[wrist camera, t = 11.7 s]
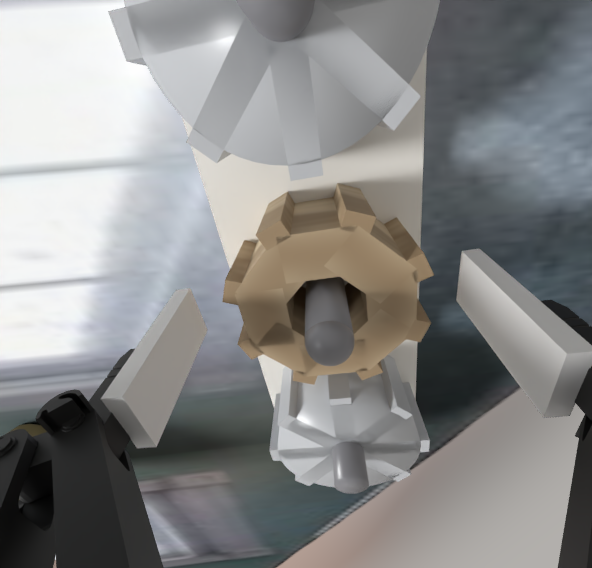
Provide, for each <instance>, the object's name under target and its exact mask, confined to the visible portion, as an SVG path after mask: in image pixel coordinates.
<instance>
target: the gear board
mask: <svg viewBox="0 0 592 568" xmlns="http://www.w3.org/2000/svg"><path fill="white" fill-rule="evenodd" d="M124 3H125V7H124V8H120V9H116V10H112V11H108V12H109V15H110V17H111V20H112V23H113V26H114V28H115V31H116V34H117V36H118V39H119V42H120V45H121V47H122V50H123V53H124V55H125V58H126V61H128V62H132V63H137V64H141V65H146V66H147V67H148V69H149V71H150V73H151V75H152V77H153V79H154V80H155V82H156V83H157V85H158V86H159V88H160V89H161V91H162V93H163V94H164V96H165V97H166V98H167V100H168V101H169V102H170V103H171V105H172V106H173V107H174V108H175V110H176V111H177V112H178V113H179V115H180V116H181V117H182V119H183V122H184V125H185V128H186V132H187V135H188V139H187V141H186V142H187V143H188V144H190V145H191V147H192V151H193V154H194V157H195V160H196V163H197V166H198V169H199V173H200V176H201V179H202V182H203V185H204V188H205V192H206V195H207V198H208V201H209V204H210V207H211V210H212V214H213V217H214V220H215V223H216V226H217V229H218V233H219V236H220V239H221V242H222V245H223V248H224V251H225V255H226V258H227V261H228V264H229V267H230V269H231V267H232V265H233V263H234V261H235V259H236V256H237V254H238V252H239V250H240V248H241V246H242V244H243V242H244V240H245V241H250V242H254V243H257V242H258V241H259V239H258V238H257V237H256V233H257V231H258V228H259V226H260V223H261V221H262V218H263V216H264V213H265V211H266V209H267V206H268V204H269V203H270V202H272V201H273V200H275V199H277V198H278V197H280V196H281V195H283V194H284V193H286V192H287V191H288V193H289V195H290V196H291V198H292V199H293V201H294V202H295V203H299V202H306V201H312V200H318V199H324V198H330V197H333V196H334V193H335V189H336V186H337V183H339V184H343V185H347V186H351V187H355V188H360V190H361V191H362V193H363V195H364V196H365V198H366V200H367V202H368V203H369V205H370V207H371V208H372V210H373V212H374V214H375V215H376V218H377V219H378V220H379V221H381V222H382V223H383V224H385V223H387V222H389V221H391V220H393V219H394V218H396V217H397V218H398V220H399V221H400V222H401V224H402V225H403V226H404V228H405V229H406V230H407V231H408V233H409V234H410V235H411V237H412V238H413V239H414V241H415V242H416V243H417V245H418V246H419V247H420V246H421V215H422V184H423V153H424V122H425V91H426V60H427V45H428V43H429V41H430V37H431V34H432V31H433V27H434V24H435V21H436V17H437V14H438V9H439V3H440V0H124ZM347 283H348V282H347V281H346V280H344V279H342V278H341V277H333V278H326V279H318V280H310V281H305V282H304V283H303V285H302V286H303V287H304V288H306V300H305V347H306V350H307V352H308V354H309V356H310V357H311V358H312V359H313V360H314V361H315V362H317V363H319V364H321V365H324V366H336V365H339V364H341V363H343V362H345V361H346V360H347V359H348V358H349V357H350V355H351V353H352V351H353V348H354V343H355V342H354V334H353V329H352V323H351V318H350V313H349V307H348V302H347V297H346V291H345V285H346V284H347ZM417 298H418V300H419V282H418V288H417ZM258 359H259V362H260V365H261V368H262V371H263V374H264V378H265V381H266V384H267V387H268V390H269V393H270V397H271V400H272V403H273V406H274V416H273V425H272V433H271V442H270V453H271V456H272V459H273V461H280V460H281V461H282V462H283V464H284V465H285V466H286V467H287V468H288V469H289V470H290V471H291V472H293V473H294V474H295V480H296V481H298V482H301V483H303V484H305V485H308V486H310V485H311V484H313V483H316V484H319V485H324V486H329V487H335V488H336V489H337V490H339V491H341V492H344V493H359V492H362V491H364V490H366V489H367V488H368V486H372V485H376V484H380V483H383V482H386V481H389V480H391V479H394V480H396V481H398V482H399V481H400V480H402V479H404V478H405V477H407V476H409V475H411V472H410V467H411V466H412V465H413V464H414V463H415V461H416V459H417V458H418V456H419V453H420V452H429V443H430V439H429V437H428V434H427V431H426V428H425V425H424V423H423V420H422V417H421V414H420V411H419V408H418V406H417V403H416V371H417V341H412V340H407V339H406V340H405V341H404V342H402V343H401V344H400V345H399V346H398V347H396V348H395V349H394V350H393V351H392V352H391V353H389V354H388V355H387V356H386V357H385V358H383V359H382V360H381V361H380V362H381V366H382V370H383V373H380V374H378V375H375V376H373V377H370V378H367V379H365V380H361V378H360V377H359V375H358V374H357V373H356V372H352V373H341V374H330V375H319V376H317V379H316V381H315V384H314V385H313V384H307V383H302V382H297V381H293V370H292V369H290V368H288V367H286V366H284V365H282V364H281V363H279V362H277V361H275V360H273V359H271V358H269V357H267V356H266V355H264V354H263V355H260V356H258Z"/></svg>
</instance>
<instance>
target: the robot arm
mask: <svg viewBox="0 0 592 568" xmlns="http://www.w3.org/2000/svg"><path fill="white" fill-rule="evenodd" d="M456 301H457V302H458V303H459V305H460V306H461V308H462V309H463V310H464V312H465V313H466V314H467V316H468V317H469V318H470V320H471V321H472V322H473V324H474V325H475V326H476V328H477V329H478V330H479V332H480V333H481V334H482V336H483V337H484V338H485V340H486V341H487V343H488V344H489V345H490V347H491V348H492V349H493V351H494V352H495V353H496V355H497V356H498V357H499V359H500V360H501V361H502V363H503V364H504V365H505V367H506V368H507V369H508V371H509V372H510V373H511V375H512V376H513V378H514V379H515V380H516V382H517V383H518V384H519V386H520V387H521V388H522V390H523V391H524V392H525V394H526V395H527V396H528V398H529V399H530V400H531V402H532V403H533V404H534V406H535V407H536V408H537V410H538V411H539V413H540V414H541V415H542V416H543V418H549V417H562V416H570V414H571V412H572V410H573V407H574V405H575V403H576V404H577V405H578V406H579V407H580V409H581V410H582V411H583V412H584V413H585V416H584V418H583V420H582V422H581V424H580V426H579V428H578V430H577V432H576V435H575V436H576V437H578V438H579V442H578V448H577V454H576V460H575V466H574V473H573V478H572V484H571V491H570V497H569V503H568V509H567V515H566V521H565V528H564V533H563V539H562V545H561V551H560V557H559V564H558V568H592V327H591V326H590V327H589V324H587V323H586V322H585V321H584V320H582V319H579V316H577V315H576V314H575V313H574V312H572V311H571V310H570V309H569V308H567V307H565V306H563V305H561V304H559V303H557V302H555V301H552V300H545V301H540V300H538V299H537V298H536V297H535V296H534V295H533V294H532V293H530V292H529V291H528V290H527V289H526V288H525V287H523V286H522V285H521V284H520V283H519V282H518V281H516V280H515V279H514V278H513V277H512V276H511V275H510V274H508V273H507V272H506V271H505V270H504V269H503V268H501V267H500V266H499V265H498V264H497V263H496V262H494V261H493V260H492V259H491V258H490V257H489V256H487V255H486V254H485V253H484V252H483V251H482V250H481V249H472V250H465V251H462V253H461V262H460V271H459V280H458V290H457V299H456ZM206 332H207V328H206V326H205V323H204V321H203V318H202V316H201V313H200V311H199V309H198V306H197V304H196V301H195V299H194V296H193V294H192V291H191V289H190V288H188V289H180V290H176V291H175V292H174V294H173V295H172V297H171V298H170V299H169V301H168V302H167V304H166V305H165V307H164V308H163V310H162V311H161V312H160V314H159V315H158V317H157V318H156V320H155V321H154V323H153V324H152V325H151V327H150V328H149V330H148V331H147V333H146V334H145V335H144V337H143V338H142V340H141V341H140V343H139V344H138V346H137V347H136V348H135V349H130V350H129V351H128V352H127V353H126V354H125V355H123V356H122V357H121V358H120V359H119V361H118V362H117V363H116V365H115V366H114V367H113V370H111V372H110V373H109V374H108V376H107V378H105V380H104V381H103V383H102V384H101V385H100V387H99V388H98V389H97V391H96V392H95V394H94V395H93V396H92V398H91V399H90V400H89V402H88V401H87V399H86V398H85V397H84V395H83V394H82V393H81V392H80V391H79V390H70V391H66V392H64V393H61V394H59V395H57V396H56V397H54V398H53V399H51V400H50V401H48V402H47V403H46V404H45V405H44V406H43V407H42V408H41V409H40V411H39V412H38V413H37V416H36V421H37V422H38V423H39V424H40V425H41V426H42V427H43V428H44V429H45V430H46V431H47V432H45V433H42V434H39V435H36V436H34V437H32V436H31V435H30V434H29V433H28V432H27V431H26V430H25V429H17V430H14V431H11V432H9V433H7V434H5V435H3V436H1V437H0V568H53V565H54V560H55V555H56V566H57V568H163V565H162V561H161V558H160V555H159V551H158V548H157V545H156V542H155V538H154V535H153V532H152V528H151V525H150V522H149V518H148V515H147V512H146V509H145V505H144V502H143V499H142V495H141V492H140V489H139V485H138V482H137V479H136V476H135V472H134V469H133V466H132V462H131V459H130V456H129V453H128V452H127V451H126V449H125V448H126V446H127V444H128V442H129V440H130V439H131V441H132V442H133V443H134V445H135V446H136V447H137V448H148V447H157V445H158V443H159V440H160V438H161V436H162V433H163V431H164V429H165V427H166V424H167V422H168V420H169V417H170V415H171V413H172V410H173V408H174V406H175V404H176V401H177V399H178V397H179V394H180V392H181V390H182V387H183V385H184V383H185V381H186V378H187V376H188V374H189V371H190V369H191V367H192V364H193V362H194V360H195V358H196V355H197V353H198V351H199V348H200V346H201V344H202V342H203V339H204V337H205V335H206Z"/></svg>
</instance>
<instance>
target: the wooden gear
mask: <svg viewBox="0 0 592 568" xmlns="http://www.w3.org/2000/svg"><path fill="white" fill-rule="evenodd" d="M256 237H257V238H258V239H259V241H258V242H257V243H254V242H250V241H245V240H244V242H243V244H242V246H241V248H240V250H239V252H238V254H237V256H236V259H235V261H234V263H233V265H232V267H231V269H230V271H229V273H228V275H227V277H226V279H225V287H224V295H223V302H226V303H230V304H235V305H238V306H239V309H240V312H241V315H242V318H243V321H244V324H243V328H242V331H241V334H240V338H239V341H238V345H239V346H240V347H241V348H242V349H243V351H244V352H245V353H246V354H247V355H248V356H249V357H250V358H251V359H254V358H256V357H258V356H260V355H263V354H264V355H266V356H267V357H269V358H271V359H273V360H275V361H277V362H279V363H281V364H282V365H284V366H286V367H288V368H290V369H292V370H293V381H297V382H302V383H307V384H313V385H314V384H315V381H316V379H317V376H319V375H330V374H341V373H352V372H356V373H357V374H358V375H359V377H360V378H361V380H365V379H367V378H370V377H373V376H375V375H378V374H380V373H383V370H382V366H381V362H380V361H381V360H382V359H383V358H385V357H386V356H387V355H388V354H389V353H391V352H392V351H393V350H394V349H395V348H396V347H398V346H399V345H400V344H401V343H402V342H404V341H405V340H406V339H407V340H412V341H417V342H421V340H422V338H423V337H424V335H425V333H426V331H427V330H428V328H429V326H430V324H431V322H430V320H429V318H428V316H427V314H426V313H425V311H424V309H423V307H422V305H421V304H420V302H419V300H418V298H417V288H418V282H420V281H422V280H424V279H427V278H429V277H431V276H433V275H434V274H433V272H432V270H431V267H430V265H429V263H428V261H427V259H426V257H425V255H424V253H423V251H422V250H421V249H420V247H419V246H418V245H417V243H416V242H415V241H414V239H413V238H412V237H411V235H410V234H409V233H408V231H407V230H406V229H405V228H404V226H403V225H402V224H401V222H400V221H399V220H398V218H397V217H396V218H394V219H393V220H391V221H389V222H387V223H385V224H383V223H382V222H381V221H379V220H378V219H377V218H376V215H375V214H374V212H373V210H372V208H371V207H370V205H369V203H368V202H367V200H366V198H365V196H364V195H363V193H362V191H361V190H360V188H355V187H351V186H347V185H343V184H339V183H337V186H336V189H335V193H334V196H333V197H330V198H324V199H318V200H312V201H306V202H299V203H295V202H294V201H293V199H292V198H291V196H290V195H289V193H288V191H287V192H286V193H284V194H283V195H281V196H280V197H278V198H277V199H275V200H273V201H272V202H270V203H269V204H268V206H267V209H266V211H265V213H264V216H263V218H262V221H261V223H260V226H259V228H258V231H257V233H256ZM333 277H341V278H342V279H344V280H346V281H347V282H348V283H347V284H346V285H345V291H346V297H347V302H348V307H349V313H350V318H351V323H352V329H353V334H354V342H355V343H354V348H353V351H352V353H351V355H350V357H349V358H348V359H347V360H346V361H345V362H343V363H341V364H339V365H336V366H324V365H321V364H319V363H317V362H315V361H314V360H313V359H312V358H311V357H310V356H309V354H308V352H307V350H306V347H305V300H306V288H304V287H303V286H302V285H303V283H304V282H305V281H310V280H318V279H326V278H333Z"/></svg>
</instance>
